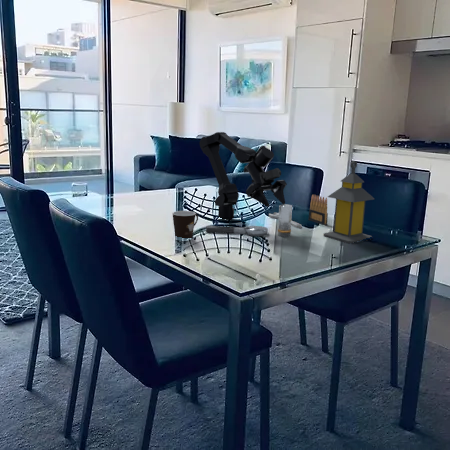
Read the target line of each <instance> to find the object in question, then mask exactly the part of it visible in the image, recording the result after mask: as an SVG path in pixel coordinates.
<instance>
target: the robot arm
mask: <svg viewBox="0 0 450 450" xmlns="http://www.w3.org/2000/svg"><path fill="white" fill-rule="evenodd" d="M221 146H223V147H224V148H226V149H227V150H229V151H230V152H231V153H233V155H234V158H235V159H236V160H237V161H238V162H239V164H247V165H245V166H244V168H243V173H248V174H249V175H250V177H251V179H252V180H251V184H250V185H249V186H248V187H247V189H246V190H245V195H246V196H247V197H248V198H250V199H253V200H255V201H257V202H259V203H261V204H262V205H264V206H265V207H267V208H268V207H270V203H269V201H268V199H267V197H266V195H265V194H264V192H265V191H270V192H271V193H273V194H272V195H273V196H274V197H275V198H276V199H277V200H278V202H280V203H281V205H282V204H286V199H285V194H284V193H285V192H284V190H285V188H286V186H287V182H286V180H285V179H281V180H280V179H279V180H276V179H277V178H281V176H282V171H281V170H280V169H279V168H278V167H276V168H274V169H270V170H268V171H265V170H264V169H263V168H265V167H267V166H268V164H269V163H271V161H272V160H273V158H274V157H275V154H274V152H273V150H271V149H270V148H269V147H266V145H261V146H260V147H259V148H258V150H257V151H256V149H253V148H251V147H249V146H245V145H242V144H240V143H239V142H238V141H237V140H235V139H234V138H232V137H230V135H228V134H227V133H226V132H225V131H217V132H215V133H212V134H209V135H208V136H203V137H201V138H200V140H199V147H200V150H201V151H202V153H203V154H204V155H205V156H207V157H208V160H209V162H210V165H211V168H212V171H213V173H214V175H215V178H216V181H217V184H218V190H217V194H218V196H217V197H216V198H215V199H214V206H217V207H218V208H217V211H218V217H220V218H222V219H226V220H225V221H233V219H234V217H235V208H234V206H236V205H237V203H238V199H239V196H240V194H239V190H238V188H237V184H236V183H232V182H231V181H230V179H229V177H228V174H227V171H226V168H225V167H224V164H223V160H222V158H221V156H220V149H221ZM275 180H276V181H275ZM218 217H217V218H218Z"/></svg>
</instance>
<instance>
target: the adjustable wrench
mask: <svg viewBox="0 0 450 450" xmlns="http://www.w3.org/2000/svg"><path fill="white" fill-rule="evenodd" d="M268 217H269V218H270V219H276V220H279V212H273V213H268ZM291 227H294V228H296V229H301V228H302V227H303V226H302V224H301V223H298V222H296V221H293V220H292V219H291Z"/></svg>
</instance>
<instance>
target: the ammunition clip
mask: <svg viewBox="0 0 450 450" xmlns="http://www.w3.org/2000/svg"><path fill="white" fill-rule="evenodd" d="M310 199H311V200H310V204H309V205H310V206H309V209H308V221H311V222H312V223H316V224H319V225H322V226H327V225H328V218H329V217H328V215H329V214H328V197H325V196H323V197H322V196H321V195H320V196H319V195H316V194H312V195H311V198H310Z"/></svg>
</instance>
